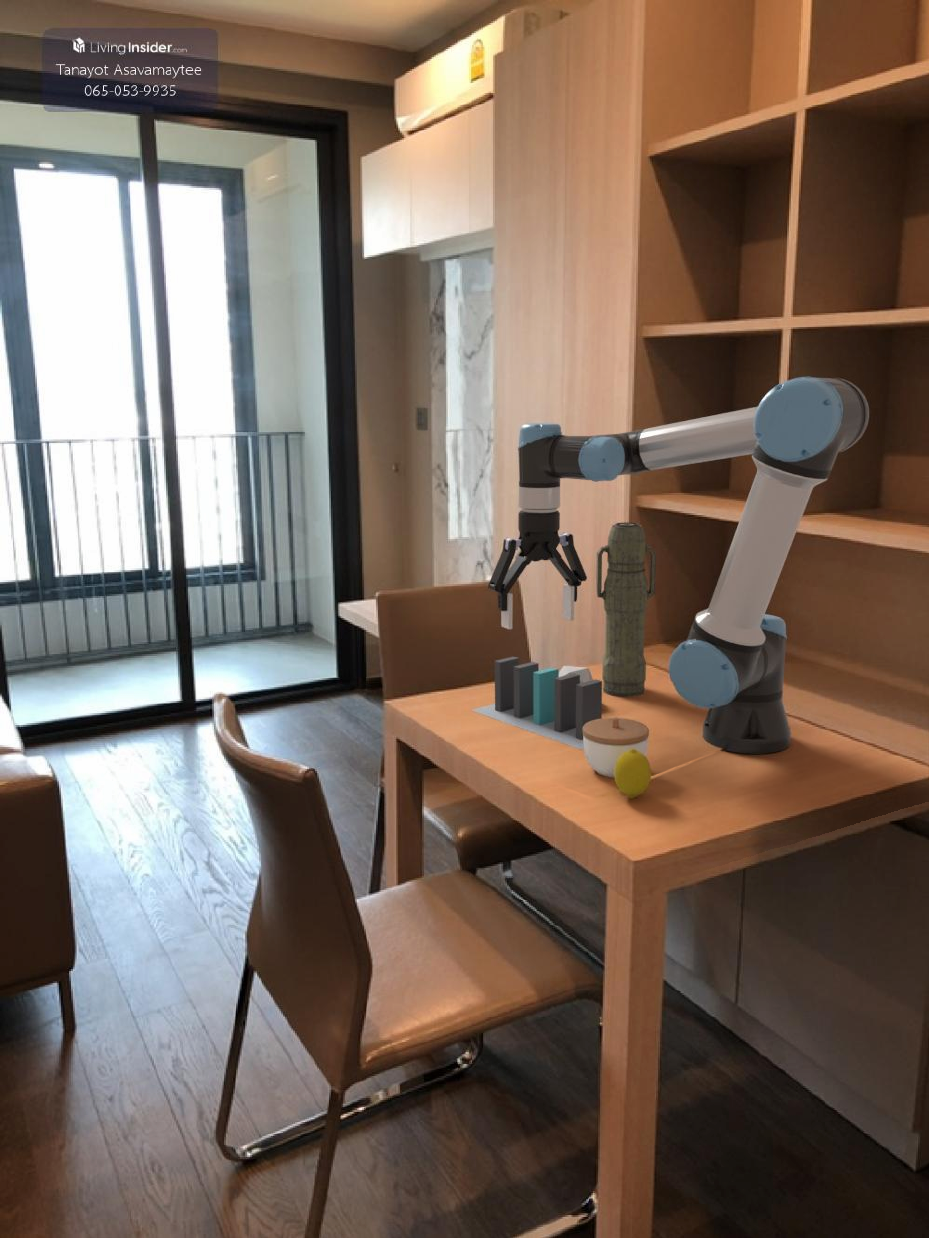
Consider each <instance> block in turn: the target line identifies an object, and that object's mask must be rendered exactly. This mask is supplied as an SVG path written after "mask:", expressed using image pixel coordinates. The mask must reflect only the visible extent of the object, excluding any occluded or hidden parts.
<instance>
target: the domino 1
mask: <svg viewBox="0 0 929 1238" xmlns="http://www.w3.org/2000/svg"><path fill="white" fill-rule="evenodd" d="M518 665H520V657H517V656H516V657H515V656H509V657H505V658H501V659H498V660H497V659H496V660H494V704H495V710H496V711H499V712H503V711H506V710H510V709H513V708H514V666H518Z"/></svg>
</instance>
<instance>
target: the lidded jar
mask: <svg viewBox="0 0 929 1238" xmlns="http://www.w3.org/2000/svg"><path fill="white" fill-rule="evenodd" d="M582 731H583V745H584V749H583V751H584V752H583V753H584V755H585V759H586V761H587V763H588V764H589V766H590V767H591V768H592V769H593V770H594V771H595V772H597V773H598V774H599V775H601V776H604V777H606V778H607V777H608V778H615V777H614V770H615V765H616V762H617V760H618V758H619V756H620V755H621V754H623V753H624V752H626V751H629V750H631V749H635V750H636V751H639V752H641V753H642V754H643V755H645V757H646V756H647V751H648V747H649V746H648V745H649V737H650V729H649V727H648V726H647V725H646V724H645V723H643V722H640V721H637V720H634V719H629V718H622V717H602V719H596V720H592V721H589V722H587V723H586V724H585V725H584V726H583V729H582ZM646 758H647V757H646Z"/></svg>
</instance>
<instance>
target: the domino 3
mask: <svg viewBox="0 0 929 1238" xmlns="http://www.w3.org/2000/svg"><path fill="white" fill-rule="evenodd" d="M577 684H580V675H578V674H575V673H573V674H569V675H565V676H561V677H558V678H554V731H557V732H560V733H561V732H564V731H568V730H571V729H574V728H576V685H577Z"/></svg>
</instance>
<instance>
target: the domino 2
mask: <svg viewBox="0 0 929 1238" xmlns="http://www.w3.org/2000/svg"><path fill="white" fill-rule="evenodd" d="M537 671H540V670H539V663H538V662H535V661H530V662H526V663H522V664H519V665H518V666H514V717H516V718H519V719H520V718H524V717H527V716H530V715H534V702H533V672H537Z"/></svg>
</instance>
